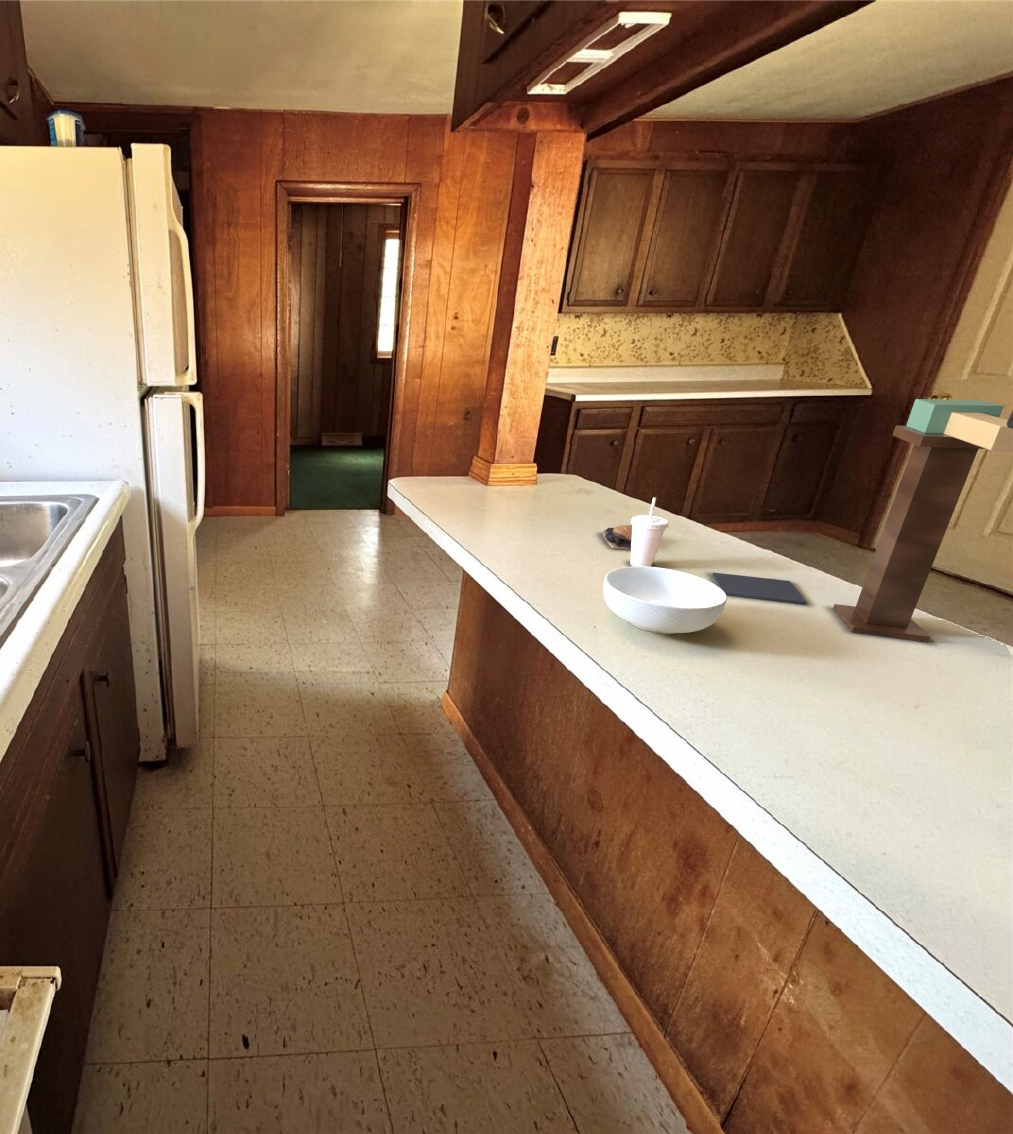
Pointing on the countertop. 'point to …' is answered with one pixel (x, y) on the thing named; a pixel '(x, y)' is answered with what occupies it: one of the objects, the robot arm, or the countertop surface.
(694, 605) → the cereal bowl
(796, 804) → the countertop surface
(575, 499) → the countertop surface
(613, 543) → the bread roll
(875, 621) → the walnut stand
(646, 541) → the smoothie
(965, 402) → the two-tone toy blocks
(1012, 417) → the robot arm
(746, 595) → the slate mat
